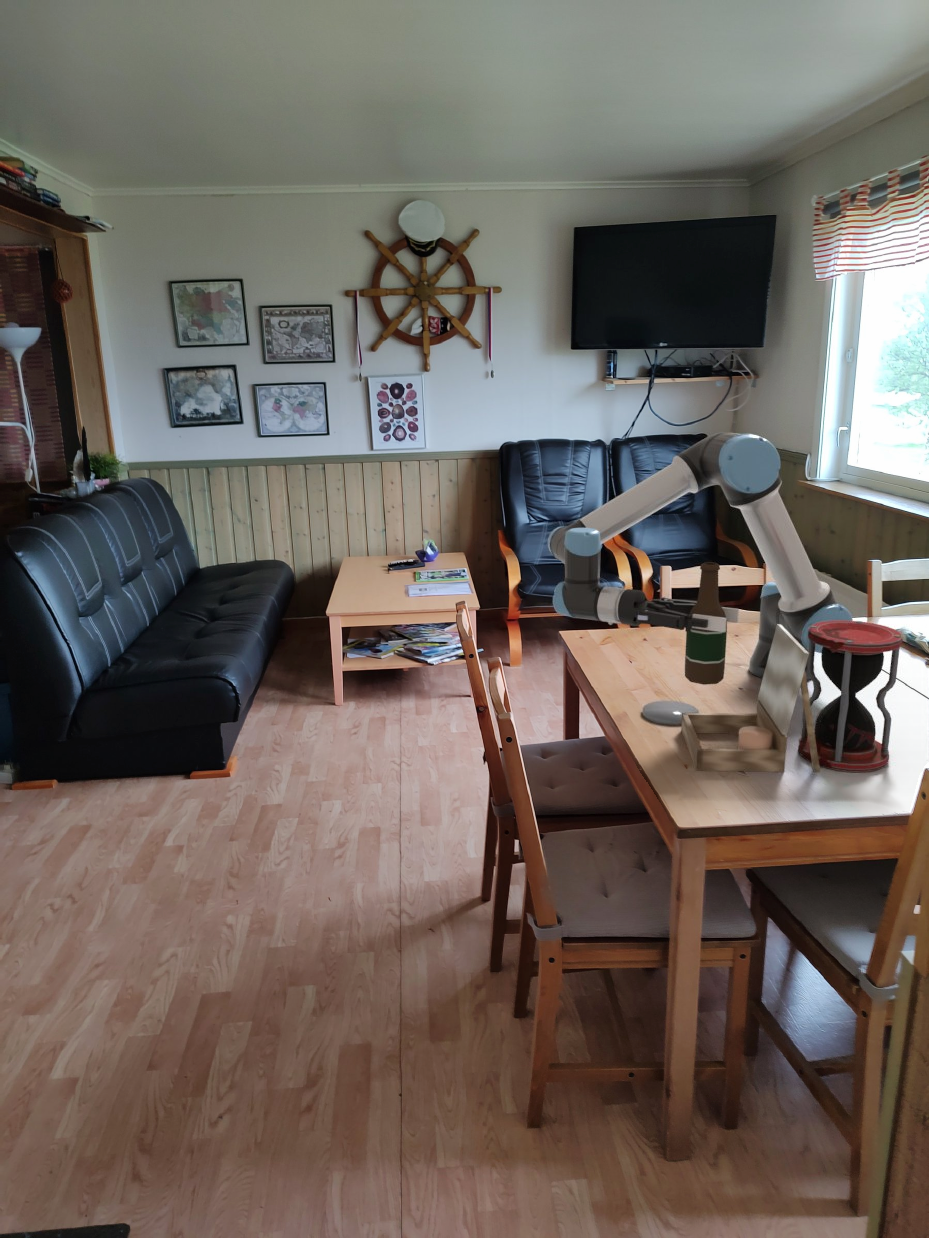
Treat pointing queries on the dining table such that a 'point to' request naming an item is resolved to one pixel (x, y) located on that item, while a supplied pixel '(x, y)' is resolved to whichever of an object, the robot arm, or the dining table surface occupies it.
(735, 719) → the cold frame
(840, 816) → the dining table surface
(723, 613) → the beer bottle
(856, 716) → the hourglass
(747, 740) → the tan rounded block
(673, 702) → the coaster
